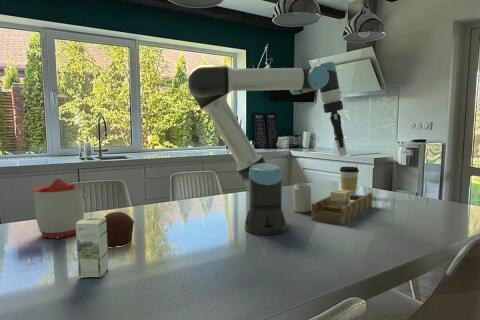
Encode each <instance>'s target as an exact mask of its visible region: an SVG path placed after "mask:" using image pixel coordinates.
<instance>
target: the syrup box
mask: <svg viewBox="0 0 480 320" xmlns="http://www.w3.org/2000/svg"><path fill="white" fill-rule="evenodd" d="M75 235H76V236H75V237H76V252H77V253H76V254H77V266H78V277H79V276H102V275H103V274H104V273H105V271H106V270H107V269H108V268H109V267H110V266H109V257H108V256H109V255H108V248H107V229H106V217H104V216H103V217H100V216H98V217H83V219H81V220H79V221H78V222H77V223H76V234H75ZM108 270H109V269H108ZM105 274H106V273H105ZM105 274H104V275H105ZM104 275H103V276H104Z"/></svg>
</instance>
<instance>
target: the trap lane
mask: <svg viewBox="0 0 480 320" xmlns="http://www.w3.org/2000/svg"><path fill="white" fill-rule="evenodd" d="M344 191H347V190H344ZM330 203H331V195H329V196H327V197H323V198H322V199H320V200H317V201H315V202H312V203H311V221H317V222H322V223H326V224H333V225H338V226H345V225H346V224H348V223H349V222H351V221H352V220H354V219H355V218H357V217H359V216H360V215H362V214H363V213H364V212H366V211H368V210H369V209H371V208H372V207H373V192H371V191H370V192H369V193H366V194H365V195H363V196H359V195H355V196H350V204H348V205H346V206H344V207H342V208H340V207H333V206H330Z"/></svg>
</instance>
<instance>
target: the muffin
mask: <svg viewBox="0 0 480 320" xmlns="http://www.w3.org/2000/svg"><path fill="white" fill-rule="evenodd" d="M103 217H106V229H107V246H108V247H116V246H123V245H126V244H128V243H130V242H131V243H132V239H133V231H134V224H135V221H134V220H133V218H132V217H131V216H130V215H128V214H127V213H125V212H122V211H114V212H110V213H107V214H105V216H103ZM131 243H130V244H131ZM128 245H129V244H128ZM123 247H124V246H123Z"/></svg>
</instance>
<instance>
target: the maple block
mask: <svg viewBox="0 0 480 320" xmlns="http://www.w3.org/2000/svg"><path fill="white" fill-rule="evenodd" d="M330 196H331V203H330V206H333V207H340V208H342V207H344V206H346V205H348V204H350V191H344V190H342V189H334V190H332V191H330Z"/></svg>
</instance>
